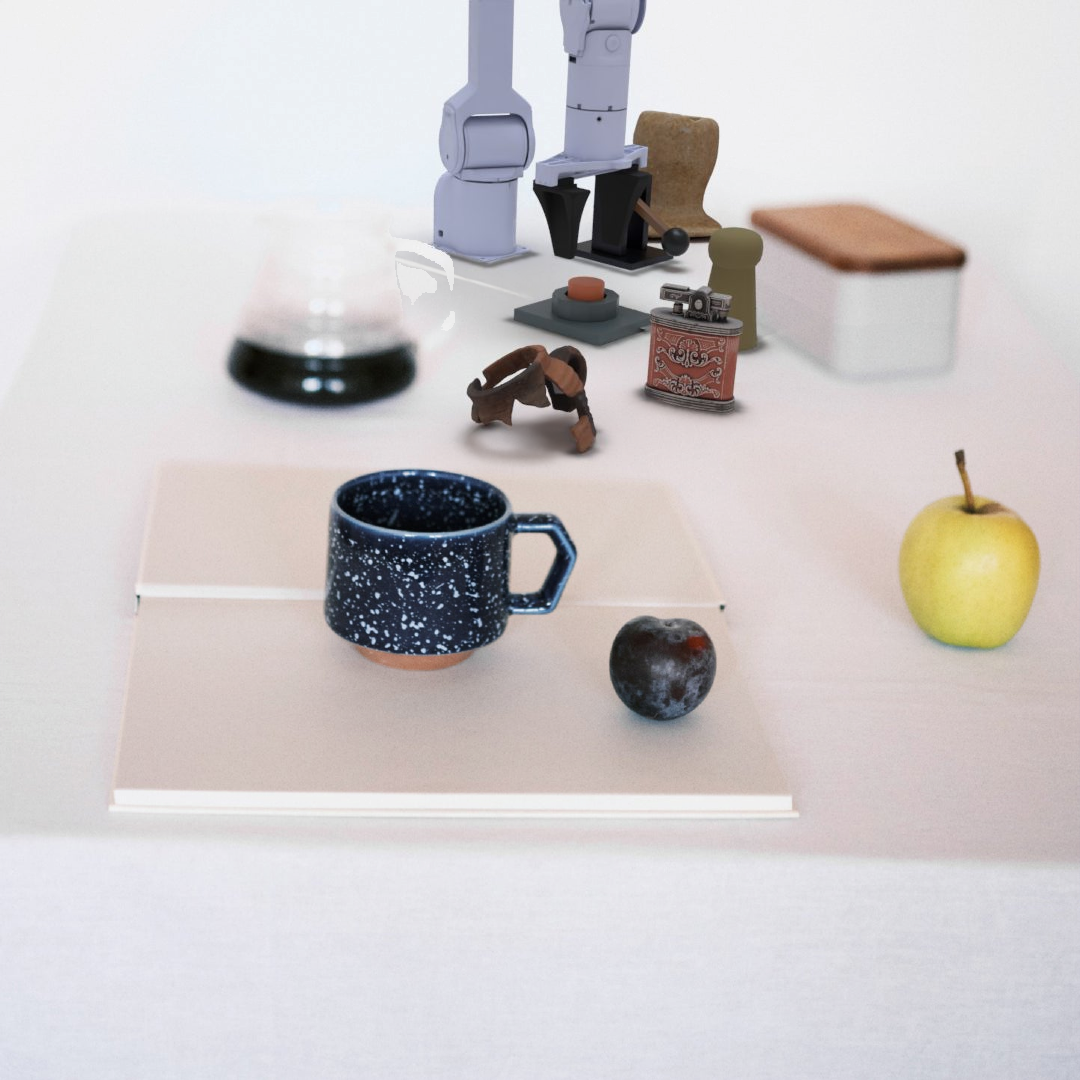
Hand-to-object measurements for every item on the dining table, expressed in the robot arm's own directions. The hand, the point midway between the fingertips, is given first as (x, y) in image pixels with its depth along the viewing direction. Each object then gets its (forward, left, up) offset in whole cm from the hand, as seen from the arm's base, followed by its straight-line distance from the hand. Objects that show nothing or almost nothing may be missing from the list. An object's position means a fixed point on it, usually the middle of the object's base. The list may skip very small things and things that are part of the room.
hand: (588, 250), depth 134 cm
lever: (-10, +22, -3) cm, 24 cm away
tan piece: (-17, +35, -8) cm, 40 cm away
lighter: (+20, -10, -8) cm, 24 cm away
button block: (0, 0, -7) cm, 7 cm away
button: (0, 0, -5) cm, 5 cm away
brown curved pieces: (+16, -25, -8) cm, 31 cm away
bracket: (-13, +22, -7) cm, 27 cm away
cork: (+13, +6, -8) cm, 16 cm away
